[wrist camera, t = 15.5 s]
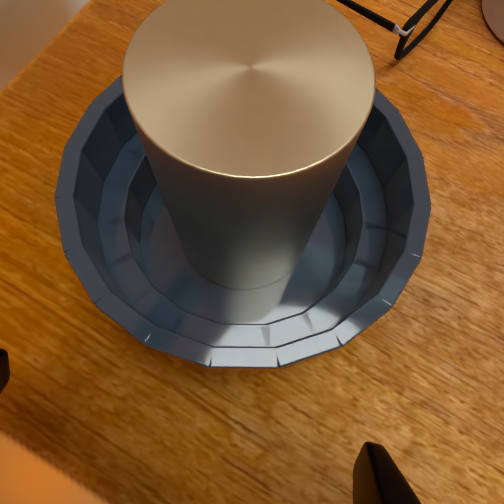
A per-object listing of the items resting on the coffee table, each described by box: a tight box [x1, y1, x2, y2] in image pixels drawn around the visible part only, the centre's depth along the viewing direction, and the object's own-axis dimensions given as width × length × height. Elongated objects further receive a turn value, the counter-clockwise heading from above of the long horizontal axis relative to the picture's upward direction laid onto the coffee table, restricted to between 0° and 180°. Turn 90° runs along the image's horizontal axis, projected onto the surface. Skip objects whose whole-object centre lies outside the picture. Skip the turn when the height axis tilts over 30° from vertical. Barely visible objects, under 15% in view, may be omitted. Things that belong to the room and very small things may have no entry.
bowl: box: [55, 75, 431, 374], centre depth 16 cm, size 12×12×6 cm
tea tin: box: [122, 0, 376, 290], centre depth 13 cm, size 6×6×9 cm
